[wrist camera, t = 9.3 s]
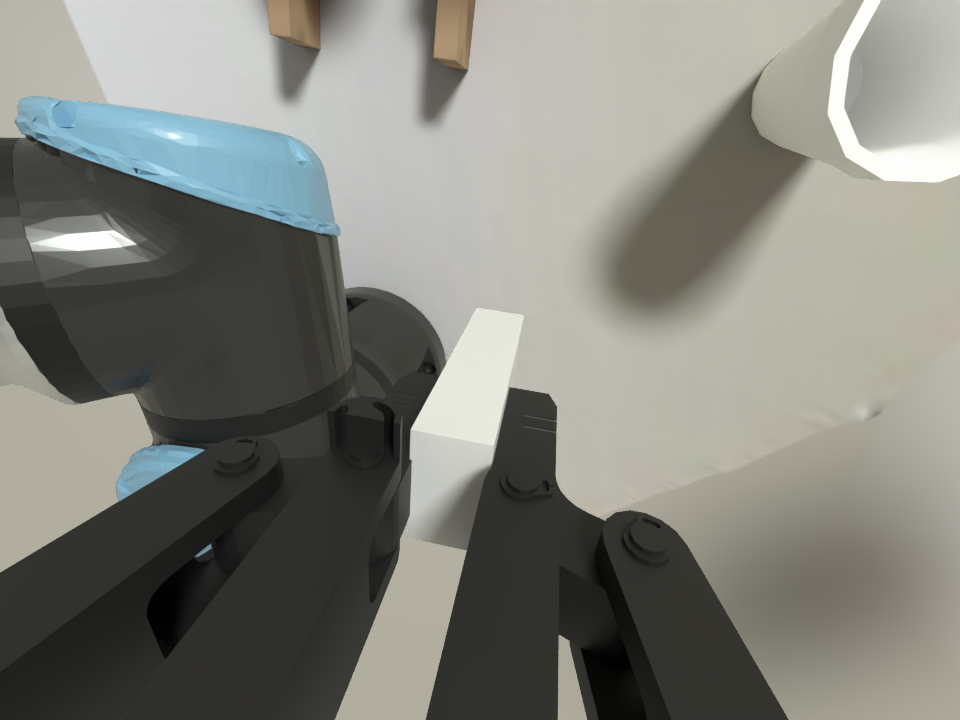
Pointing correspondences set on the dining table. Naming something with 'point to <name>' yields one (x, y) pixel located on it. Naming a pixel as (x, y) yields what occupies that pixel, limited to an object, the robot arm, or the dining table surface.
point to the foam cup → (870, 90)
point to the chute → (300, 24)
